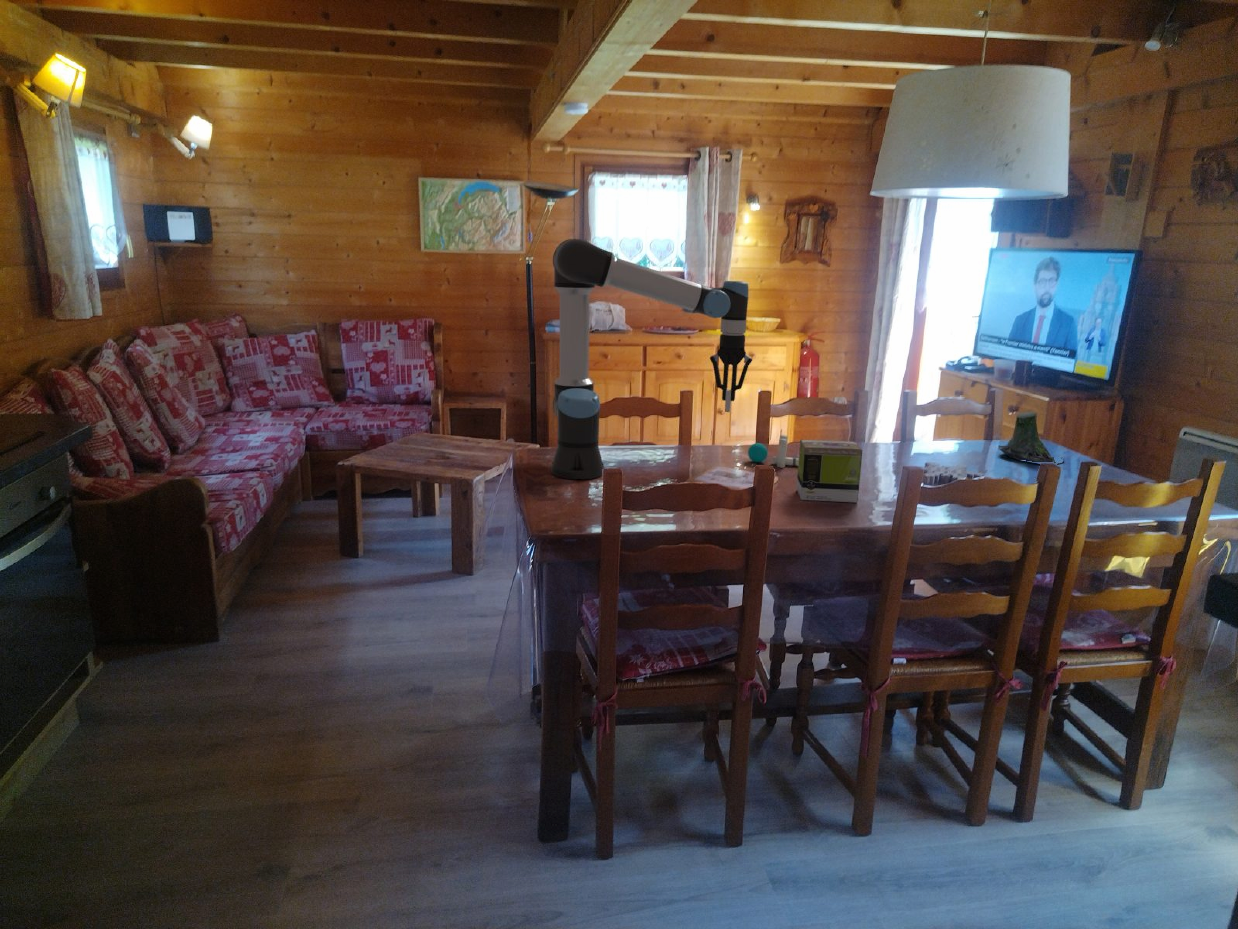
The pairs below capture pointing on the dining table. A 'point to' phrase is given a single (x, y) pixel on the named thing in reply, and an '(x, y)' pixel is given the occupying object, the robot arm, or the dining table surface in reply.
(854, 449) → the tea box
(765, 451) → the ball
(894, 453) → the dining table surface
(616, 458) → the dining table surface
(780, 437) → the pin
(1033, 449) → the tree stump
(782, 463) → the pin
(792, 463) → the front pin
